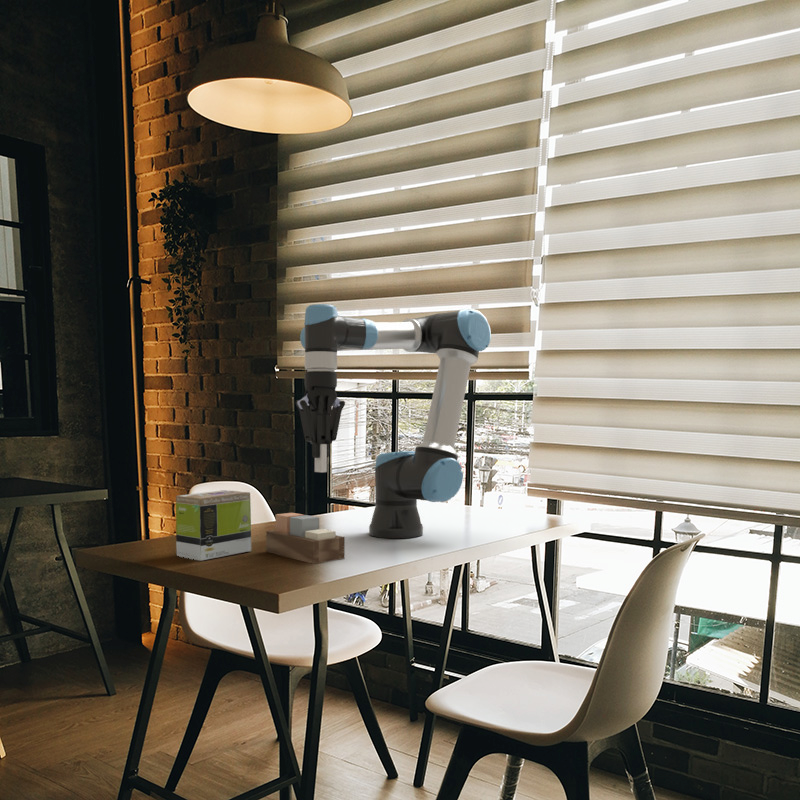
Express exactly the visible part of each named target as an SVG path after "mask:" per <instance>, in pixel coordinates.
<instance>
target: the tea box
mask: <svg viewBox="0 0 800 800" xmlns="http://www.w3.org/2000/svg"><path fill="white" fill-rule="evenodd" d="M251 504H252V503H251V492H250V491H238V490H226V489H225V490H224V489H223V490H216V491H205V492H198V493H189V494H182V495H181V494H180V495H176V496H175V517H176V518H175V519H176V520H175V521H176V522H175V523H176V525H175V529H176V530H175V533H176V534H175V540H176V542H175V543H176V544H175V545H176V546H175V547H176V556H177V557H178V556H179V557H180V558H183V557H184V558H183V559H188V558H189V560H193V559H194V561H199V562H201V561H207V560H211V559H216V558H217V559H218V558H222V557H226V556H232V555H238V554H242V553H247V552H251V551H252V516H251V515H252V514H251V512H252V511H251V510H252V509H251V507H252V506H251Z"/></svg>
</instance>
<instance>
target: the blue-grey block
mask: <svg viewBox="0 0 800 800" xmlns="http://www.w3.org/2000/svg"><path fill="white" fill-rule="evenodd" d="M318 529H320V516H314V515H313V516H312V515H308V514H307V515H306V514H304V516H296V517H290V535H295V536H300V537H305V531H310V530H318Z"/></svg>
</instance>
